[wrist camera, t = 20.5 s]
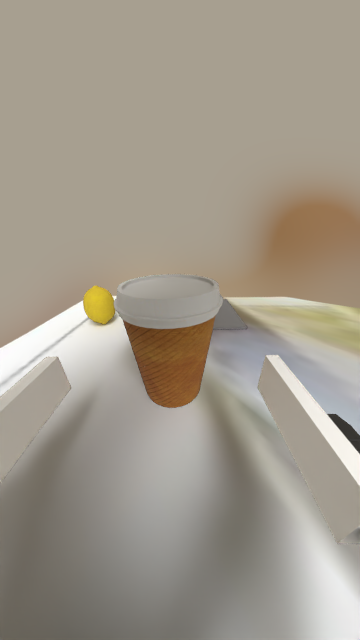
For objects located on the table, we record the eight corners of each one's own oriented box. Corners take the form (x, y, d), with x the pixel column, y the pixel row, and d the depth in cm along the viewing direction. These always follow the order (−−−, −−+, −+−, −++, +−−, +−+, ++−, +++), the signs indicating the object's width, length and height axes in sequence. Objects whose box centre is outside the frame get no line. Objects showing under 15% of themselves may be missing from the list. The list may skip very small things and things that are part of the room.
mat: (226, 300, 46) (226, 299, 46) (246, 329, 31) (247, 327, 31) (146, 301, 46) (145, 300, 46) (130, 330, 32) (129, 328, 31)
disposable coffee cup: (115, 390, 19) (87, 287, 14) (170, 350, 26) (165, 270, 21) (179, 447, 14) (175, 313, 9) (228, 378, 20) (242, 279, 15)
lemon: (98, 333, 31) (87, 291, 27) (84, 325, 34) (72, 286, 30) (124, 322, 35) (116, 284, 31) (109, 316, 38) (101, 280, 34)
